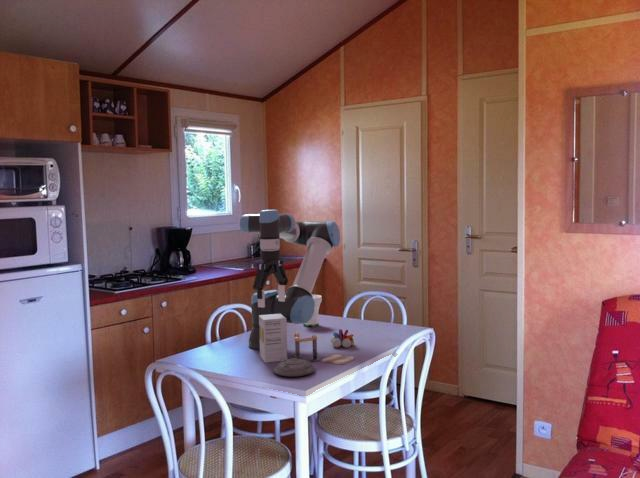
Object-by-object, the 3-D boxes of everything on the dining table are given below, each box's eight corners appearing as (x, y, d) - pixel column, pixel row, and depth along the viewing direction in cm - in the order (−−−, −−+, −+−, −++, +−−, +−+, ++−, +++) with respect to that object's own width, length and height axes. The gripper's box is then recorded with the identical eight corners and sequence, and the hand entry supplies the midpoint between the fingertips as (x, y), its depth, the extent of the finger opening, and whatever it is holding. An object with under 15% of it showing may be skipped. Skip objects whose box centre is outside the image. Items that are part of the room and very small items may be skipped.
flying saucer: (288, 382, 210) (287, 366, 209) (265, 372, 222) (265, 357, 222) (323, 373, 219) (323, 358, 218) (300, 364, 231) (299, 350, 230)
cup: (326, 324, 299) (326, 295, 298) (314, 328, 290) (313, 299, 289) (307, 321, 305) (306, 293, 304) (295, 326, 296) (294, 297, 295)
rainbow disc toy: (352, 349, 251) (352, 331, 251) (329, 348, 253) (329, 331, 253) (355, 343, 260) (355, 327, 259) (333, 343, 262) (332, 326, 261)
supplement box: (259, 356, 243) (258, 314, 241) (282, 354, 245) (280, 313, 244) (264, 363, 233) (263, 319, 232) (288, 360, 236) (286, 317, 235)
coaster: (322, 361, 233) (322, 359, 233) (333, 356, 241) (333, 354, 241) (342, 364, 229) (342, 362, 229) (354, 358, 236) (354, 356, 236)
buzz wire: (282, 362, 234) (281, 336, 233) (296, 356, 242) (295, 331, 241) (308, 366, 228) (307, 340, 227) (321, 359, 236) (320, 334, 235)
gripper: (258, 253, 223) (260, 310, 225) (296, 247, 245) (297, 299, 246) (242, 252, 227) (244, 309, 229) (280, 246, 249) (282, 298, 250)
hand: (271, 304), depth 238 cm, fingers open, 13 cm apart
